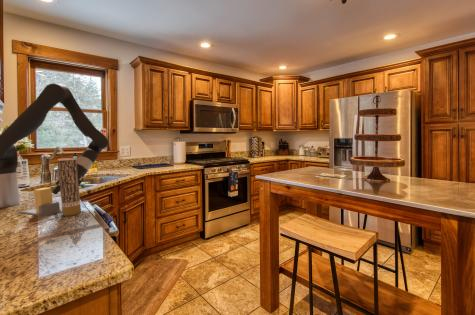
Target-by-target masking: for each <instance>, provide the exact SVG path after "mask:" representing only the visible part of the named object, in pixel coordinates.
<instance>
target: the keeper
mask: <svg viewBox="0 0 475 315" xmlns="http://www.w3.org/2000/svg"><path fill="white" fill-rule="evenodd" d="M52 191H53V190H52V187H41V188H36V189H33V192H34V193H33V194H34V201H35V202H34V204H35V207H36V213H38V214H39V206H40V205H45V204H49V203H53V193H52Z"/></svg>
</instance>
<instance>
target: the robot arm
mask: <svg viewBox="0 0 475 315" xmlns="http://www.w3.org/2000/svg"><path fill="white" fill-rule="evenodd" d="M58 104H61V105H62V106H63V107H64V108H65V109H66V110H67V112H68V113H69V116H70V117H71V119H72V121H73V123H74V124H75V126H76V128H77V129H78V130H79V131H80V132H81V134H82V135H83V136H84V137H86V138H87V137H88V138H90V139H91V141H90V142H89V144H88V146H87V147H86V149H85V150H84V151H83V152H82V154H80V156H79V157H78V158H76V162H77V173H78V184H79V186H80V185H81V184H82V182H83V181H84V179H85V178H84V177H85V176H86V174H87V173H88V172H89V171H90V169H91V168H92V165H94V163H95V162H96V160H97V159H98V158H99V154H100V153H101V152H102V151H103V150H104V149H107V147H108V146H109V145H110V144H109V139H108V137H107V136H106V135H105V134H104V133H102V132H101V131H100V130H99V129H97V127H96V126H95V124H93V122H92V121H91V120H90V119H89V117H88V116H87V115H86V114H85V112H84V111H83V109H82V108H81V106H80V104H79V103H78V102H77V100H76V99H75V97H74V95H73V93H72V92H71V89H70V88H69V87H68V86H66V85H65V84H62V83H57V82H56V83H55V82H54V83H49V84H48V85H46V86H45V87H44V89H42V91H41V93H40V94H39V95H38V96H37V98H36V99H35V100H34V101H33V102H32V103H31V104H30V105H29V106H28V107H26V109H24V111H22V112H21V113H20V115H18V117H16V119H14V120H13V122H12V123H10V125H9V126H8V127H7V128H5V130H4V131H3V132H2V133H1V134H0V208H2V209H3V208H10V207H14V206H17V205H21V200H20V199H21V198H20V190H19V180H18V174H17V173H18V172H17V168H18V165H19V163H18V162H19V161H18V160H19V158H18V149H17V147H16V146H15V144H16V143H18V142H19V141H21V140H23V139H25V138H27V137H29V136H30V135H33V133H35V132H36V131H37V130H38V129H39V128H41V126H42V125H43V123H44V122H45V121H46V117H47V116H48V113H49V112H50V110H51V109H53V108H54V107H55V106H56V105H58ZM55 185H56V186H55V188H54V189H52V190H51V191H52V194H53V195H58V194H59V192H61V191H60V180H59V179H58V180H57V181H56V182H55Z"/></svg>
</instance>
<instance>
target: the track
mask: <svg viewBox="0 0 475 315" xmlns="http://www.w3.org/2000/svg"><path fill="white" fill-rule="evenodd" d="M59 212H60V213H61V211H60V202H59V201H54V202H53V203H49V204H45V205H40V206H39V214H38V213H36V206H35V208H31V209H27V210H19V211H18V213H19V214H26V215H33V216H39V217H46V216H49V215H53V214H56V213H59Z"/></svg>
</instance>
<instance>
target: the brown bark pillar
mask: <svg viewBox="0 0 475 315" xmlns="http://www.w3.org/2000/svg"><path fill="white" fill-rule="evenodd" d="M76 160H77V158H76V157H67V158H66V157H65V158H58V159H57V169H58V178H59V179H58V180H60V182H59V183H60V191H59V192H60V199H61V210H62V215H63V216H64V217H69V216H76V215H79V214H81V211H82V208H81V196H80V185H79V184H78V173H77V162H76Z"/></svg>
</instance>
